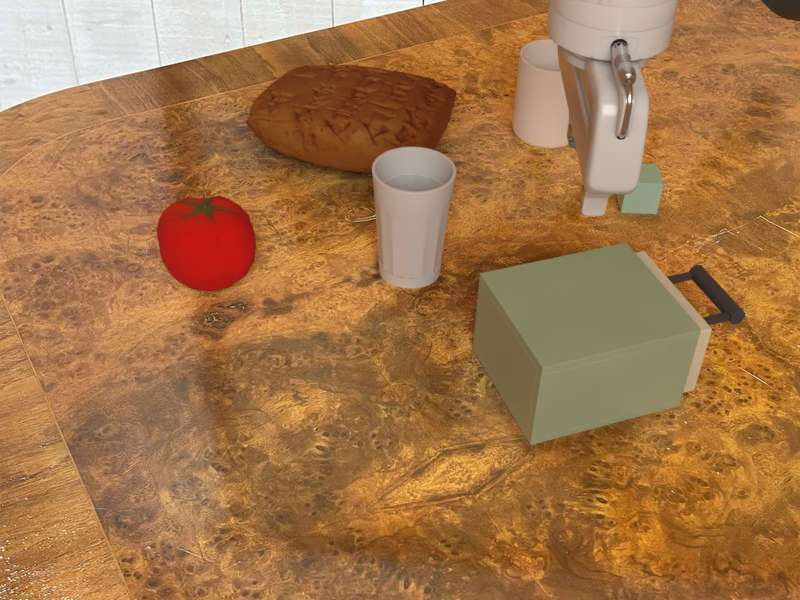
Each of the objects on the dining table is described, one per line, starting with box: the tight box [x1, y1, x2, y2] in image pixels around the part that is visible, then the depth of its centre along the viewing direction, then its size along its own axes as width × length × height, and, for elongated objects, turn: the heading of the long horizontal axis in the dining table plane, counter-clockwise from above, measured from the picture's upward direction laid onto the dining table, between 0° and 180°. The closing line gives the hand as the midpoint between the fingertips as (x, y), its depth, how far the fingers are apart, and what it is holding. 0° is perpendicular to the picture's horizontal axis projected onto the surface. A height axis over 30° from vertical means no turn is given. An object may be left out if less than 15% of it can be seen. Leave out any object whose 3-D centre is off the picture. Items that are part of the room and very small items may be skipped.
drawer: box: [635, 250, 746, 394], centre depth 95 cm, size 19×11×7 cm, turn 110°
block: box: [616, 163, 665, 215], centre depth 117 cm, size 4×4×4 cm
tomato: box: [156, 195, 257, 292], centre depth 104 cm, size 9×10×8 cm
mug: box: [511, 38, 569, 150], centre depth 126 cm, size 12×8×10 cm
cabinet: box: [471, 242, 701, 446], centre depth 94 cm, size 15×13×9 cm
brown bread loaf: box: [246, 64, 458, 174], centre depth 122 cm, size 22×17×8 cm
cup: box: [371, 147, 457, 290], centre depth 104 cm, size 8×8×12 cm
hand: (584, 176), depth 84 cm, fingers open, 8 cm apart
